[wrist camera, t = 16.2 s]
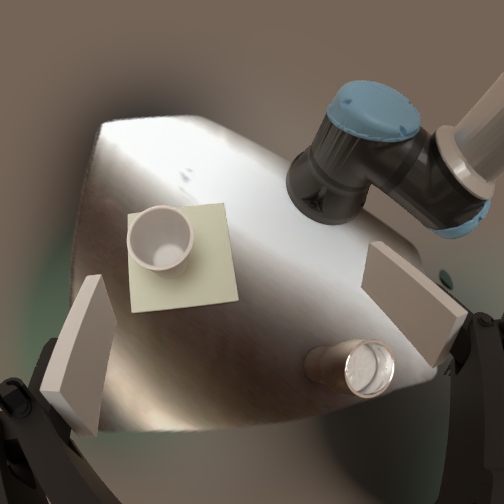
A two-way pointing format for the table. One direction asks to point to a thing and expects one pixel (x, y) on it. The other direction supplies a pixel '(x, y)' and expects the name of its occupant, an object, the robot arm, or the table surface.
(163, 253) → the dixie cup
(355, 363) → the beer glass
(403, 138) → the robot arm
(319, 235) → the table surface
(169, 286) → the sage mat
